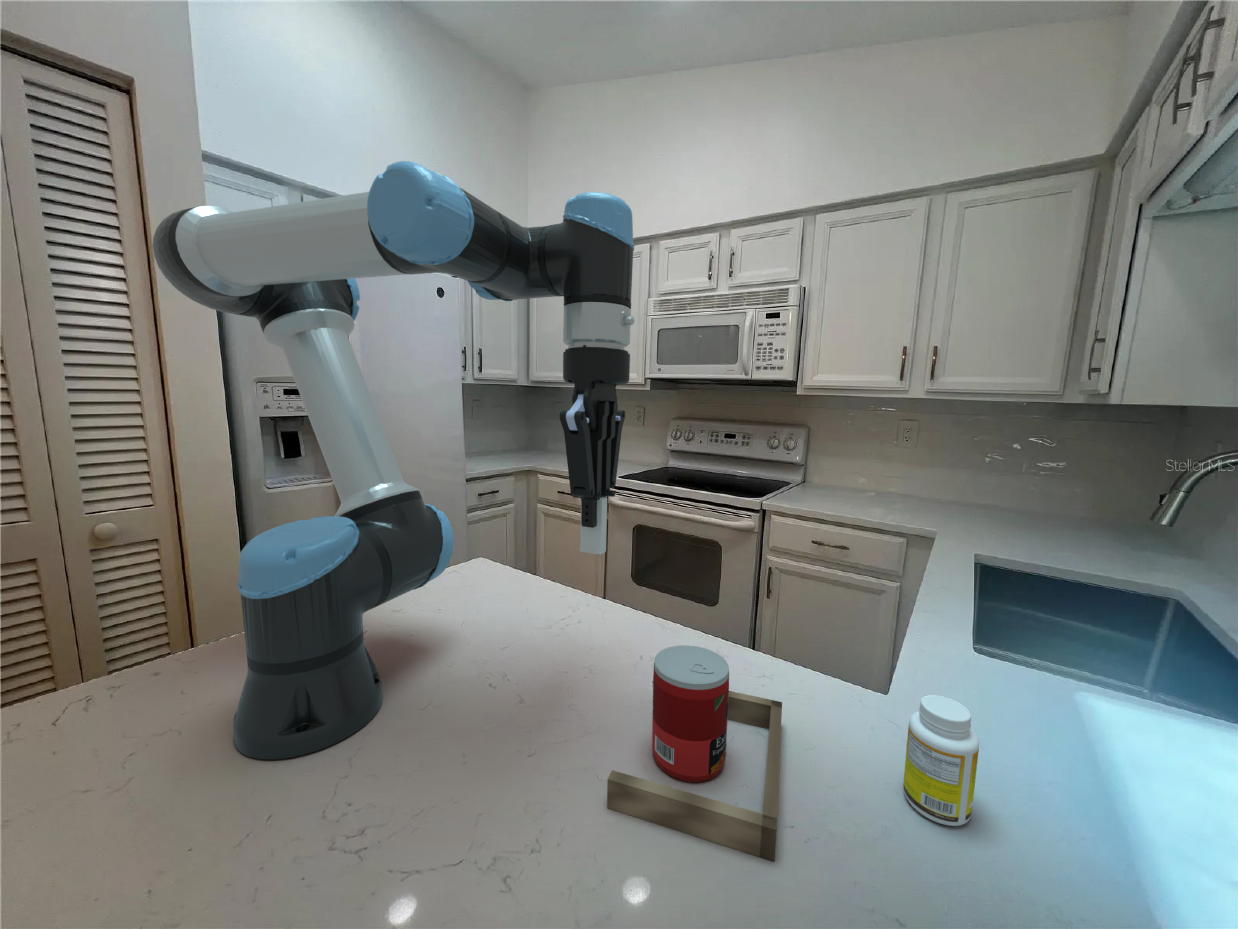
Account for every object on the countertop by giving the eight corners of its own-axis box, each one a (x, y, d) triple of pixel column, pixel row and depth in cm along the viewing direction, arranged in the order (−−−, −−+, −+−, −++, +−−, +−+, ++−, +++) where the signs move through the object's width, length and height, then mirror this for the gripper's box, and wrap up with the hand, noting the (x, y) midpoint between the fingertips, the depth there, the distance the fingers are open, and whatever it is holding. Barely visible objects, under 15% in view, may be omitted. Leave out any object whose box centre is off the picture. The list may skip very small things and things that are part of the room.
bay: (607, 807, 45) (607, 779, 45) (658, 697, 63) (659, 675, 62) (774, 861, 40) (776, 829, 40) (780, 725, 57) (782, 702, 57)
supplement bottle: (940, 780, 49) (950, 688, 48) (986, 827, 44) (998, 725, 42) (889, 783, 49) (898, 690, 47) (929, 832, 43) (940, 728, 42)
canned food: (726, 790, 48) (731, 688, 46) (647, 778, 49) (649, 678, 48) (724, 738, 55) (728, 648, 54) (655, 728, 57) (657, 641, 55)
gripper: (603, 340, 46) (599, 574, 49) (647, 353, 58) (641, 541, 61) (537, 342, 49) (536, 563, 52) (591, 354, 61) (588, 533, 64)
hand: (593, 551), depth 57 cm, fingers closed
